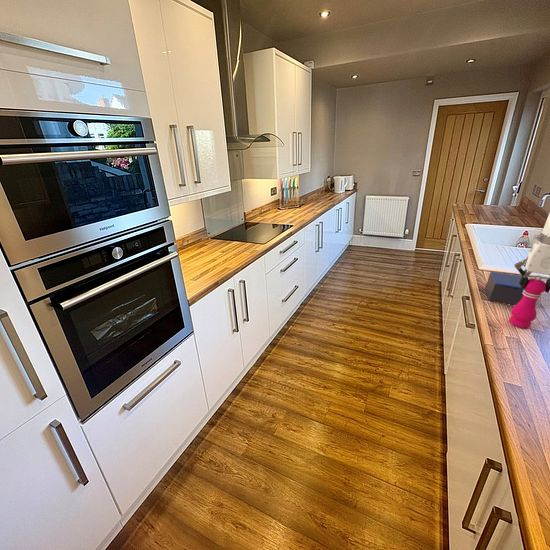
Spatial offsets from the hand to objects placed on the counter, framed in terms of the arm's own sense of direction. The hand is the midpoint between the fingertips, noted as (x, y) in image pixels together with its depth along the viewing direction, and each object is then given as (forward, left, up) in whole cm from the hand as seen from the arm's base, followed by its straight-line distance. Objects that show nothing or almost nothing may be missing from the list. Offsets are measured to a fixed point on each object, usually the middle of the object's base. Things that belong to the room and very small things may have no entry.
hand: (534, 288), depth 103 cm
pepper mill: (0, 0, -15) cm, 15 cm away
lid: (+1, -22, -7) cm, 23 cm away
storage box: (+2, -22, -15) cm, 27 cm away
